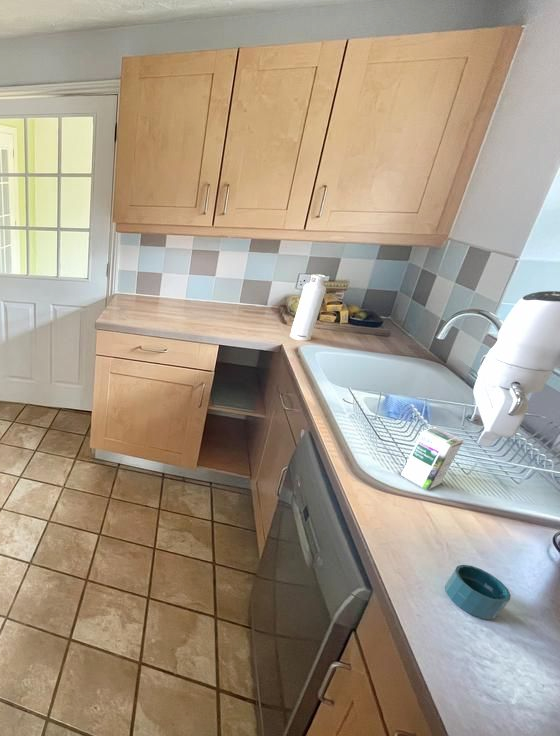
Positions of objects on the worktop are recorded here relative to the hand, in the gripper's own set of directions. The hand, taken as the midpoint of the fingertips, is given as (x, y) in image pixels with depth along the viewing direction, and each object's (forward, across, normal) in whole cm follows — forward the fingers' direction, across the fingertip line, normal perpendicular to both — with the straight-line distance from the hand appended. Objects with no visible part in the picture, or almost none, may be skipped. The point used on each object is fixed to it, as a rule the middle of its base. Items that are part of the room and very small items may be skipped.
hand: (479, 433), depth 85 cm
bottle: (+20, +93, +42) cm, 104 cm away
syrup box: (+20, +6, +4) cm, 21 cm away
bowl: (+20, -27, -3) cm, 33 cm away
